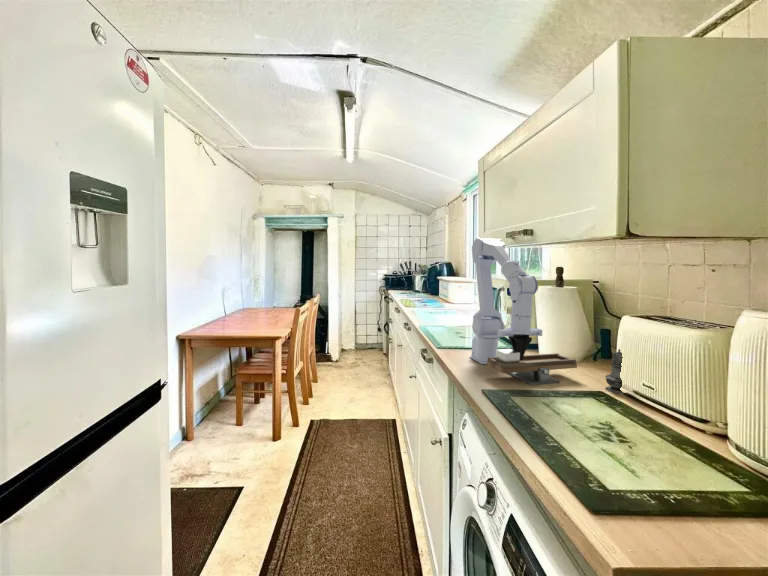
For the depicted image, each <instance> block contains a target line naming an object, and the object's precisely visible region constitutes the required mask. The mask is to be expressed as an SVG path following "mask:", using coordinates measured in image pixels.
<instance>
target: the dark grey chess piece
mask: <svg viewBox="0 0 768 576" xmlns="http://www.w3.org/2000/svg"><path fill="white" fill-rule="evenodd" d="M622 353H623V352H621V349H620V348H618V350H617V351H616V352H613V354H612V362H611V363H610V365H611V371H610V374H606V375H605V376H604V377H605V380H606V384H608V386H606V387H605V388H604V389H605V390H606V391H607V390H608V391H607V392H610V393H614V394H621V395H624V394H623V392H622V391H621V390H620V388H621V387H622V380H621V378H620V372H621V367H622V366H621V363H622V358H623V357H622Z"/></svg>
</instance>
